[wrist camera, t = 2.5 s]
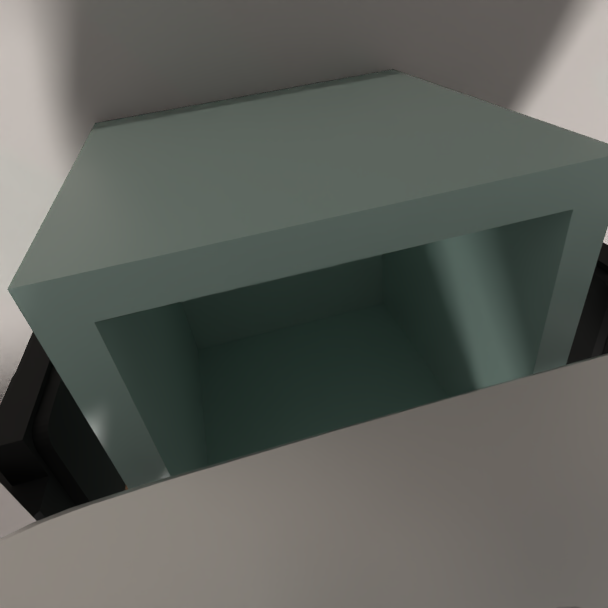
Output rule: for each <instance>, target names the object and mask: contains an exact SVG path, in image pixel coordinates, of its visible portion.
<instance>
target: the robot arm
mask: <svg viewBox="0 0 608 608" xmlns="http://www.w3.org/2000/svg"><path fill="white" fill-rule="evenodd" d="M125 486H126V484H125V482H124V481H123V479H122V478H121V476H120V474H119V473H118V471H117V469H116V468H115V466H114V464H113V463H112V461H111V459H110V458H109V456H108V454H107V453H106V451H105V449H104V448H103V446H102V444H101V443H100V441H99V440H98V438H97V436H96V435H95V433H94V431H93V430H92V428H91V426H90V425H89V423H88V421H87V420H86V418H85V416H84V415H83V413H82V411H81V410H80V408H79V406H78V405H77V403H76V402H75V400H74V398H73V397H72V395H71V393H70V392H69V390H68V388H67V387H66V385H65V383H64V382H63V380H62V378H61V377H60V375H59V373H58V372H57V370H56V368H55V367H54V365H53V364H52V362H51V360H50V359H49V357H48V355H47V354H46V352H45V350H44V349H43V347H42V345H41V344H40V342H39V340H38V339H37V337H36V335H35V334H34V332H33V333H32V335H31V338H30V340H29V342H28V345H27V347H26V349H25V352H24V354H23V357H22V359H21V361H20V364H19V366H18V368H17V371H16V373H15V374H14V376H13V377H12V379H11V382H10V384H9V386H8V389H7V391H6V393H5V396H4V398H3V400H2V403H1V405H0V608H608V245H607V244H605V243H602V247H601V250H600V253H599V257H598V260H597V263H596V267H595V270H594V273H593V277H592V280H591V283H590V287H589V290H588V293H587V297H586V300H585V303H584V306H583V310H582V313H581V316H580V320H579V323H578V326H577V330H576V333H575V336H574V340H573V343H572V346H571V350H570V353H569V356H568V360H567V363H566V365H563V366H560V367H556V368H552V369H549V370H545V371H542V372H538V373H534V374H531V375H527V376H523V377H520V378H516V379H513V380H509V381H505V382H502V383H498V384H494V385H491V386H487V387H483V388H480V389H476V390H473V391H469V392H466V393H462V394H458V395H455V396H451V397H448V398H444V399H441V400H437V401H434V402H430V403H426V404H423V405H419V406H416V407H412V408H409V409H405V410H402V411H398V412H394V413H391V414H387V415H384V416H380V417H377V418H373V419H370V420H366V421H363V422H359V423H355V424H352V425H348V426H345V427H341V428H338V429H334V430H331V431H327V432H324V433H320V434H317V435H313V436H310V437H306V438H303V439H300V440H296V441H293V442H289V443H286V444H282V445H279V446H275V447H272V448H268V449H265V450H261V451H258V452H254V453H251V454H247V455H244V456H240V457H237V458H233V459H230V460H226V461H223V462H220V463H216V464H213V465H209V466H206V467H202V468H199V469H195V470H192V471H188V472H185V473H181V474H178V475H174V476H171V477H167V478H164V479H160V480H157V481H153V482H150V483H147V484H143V485H140V486H137V487H134V488H131V489H128V490H125Z"/></svg>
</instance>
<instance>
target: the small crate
mask: <svg viewBox="0 0 608 608" xmlns="http://www.w3.org/2000/svg"><path fill="white" fill-rule="evenodd" d="M607 227H608V144H607V143H605V142H602V141H599V140H596V139H593V138H590V137H587V136H584V135H581V134H578V133H576V132H573V131H570V130H567V129H564V128H561V127H558V126H555V125H552V124H550V123H547V122H544V121H541V120H538V119H535V118H532V117H529V116H526V115H523V114H521V113H518V112H515V111H512V110H509V109H506V108H503V107H500V106H497V105H495V104H492V103H489V102H486V101H483V100H480V99H477V98H474V97H471V96H469V95H466V94H463V93H460V92H457V91H454V90H451V89H448V88H445V87H442V86H440V85H437V84H434V83H431V82H428V81H425V80H422V79H419V78H416V77H414V76H411V75H408V74H405V73H402V72H399V71H396V70H387V71H382V72H376V73H371V74H365V75H360V76H354V77H348V78H343V79H337V80H332V81H326V82H321V83H315V84H310V85H304V86H299V87H293V88H288V89H282V90H276V91H271V92H265V93H260V94H254V95H249V96H243V97H238V98H232V99H227V100H221V101H216V102H210V103H204V104H199V105H193V106H188V107H182V108H177V109H171V110H166V111H160V112H155V113H149V114H144V115H138V116H132V117H127V118H121V119H116V120H110V121H105V122H99V123H95V125H94V126H93V128H92V130H91V132H90V134H89V136H88V138H87V140H86V142H85V144H84V145H83V147H82V149H81V151H80V153H79V155H78V157H77V159H76V161H75V162H74V164H73V166H72V168H71V170H70V172H69V174H68V176H67V178H66V179H65V181H64V183H63V185H62V187H61V189H60V191H59V193H58V195H57V197H56V198H55V200H54V202H53V204H52V206H51V208H50V210H49V212H48V214H47V215H46V217H45V219H44V221H43V223H42V225H41V227H40V229H39V231H38V233H37V234H36V236H35V238H34V240H33V242H32V244H31V246H30V248H29V250H28V251H27V253H26V255H25V257H24V259H23V261H22V263H21V265H20V267H19V269H18V270H17V272H16V274H15V276H14V278H13V280H12V282H11V284H10V286H9V287H8V291H9V292H10V294H11V296H12V297H13V299H14V301H15V302H16V304H17V306H18V307H19V309H20V311H21V312H22V314H23V316H24V317H25V319H26V321H27V322H28V324H29V326H30V327H31V329H32V330H33V332H34V334H35V335H36V337H37V339H38V340H39V342H40V344H41V345H42V347H43V349H44V350H45V352H46V354H47V355H48V357H49V359H50V360H51V362H52V364H53V365H54V367H55V368H56V370H57V372H58V373H59V375H60V377H61V378H62V380H63V382H64V383H65V385H66V387H67V388H68V390H69V392H70V393H71V395H72V397H73V398H74V400H75V402H76V403H77V405H78V406H79V408H80V410H81V411H82V413H83V415H84V416H85V418H86V420H87V421H88V423H89V425H90V426H91V428H92V430H93V431H94V433H95V435H96V436H97V438H98V440H99V441H100V443H101V444H102V446H103V448H104V449H105V451H106V453H107V454H108V456H109V458H110V459H111V461H112V463H113V464H114V466H115V468H116V469H117V471H118V473H119V474H120V476H121V478H122V479H123V481H124V482H125V484H126V486H127V487H128V489H131V488H134V487H137V486H140V485H143V484H147V483H150V482H153V481H157V480H160V479H164V478H167V477H171V476H174V475H178V474H181V473H185V472H188V471H192V470H195V469H199V468H202V467H206V466H209V465H213V464H216V463H220V462H223V461H226V460H230V459H233V458H237V457H240V456H244V455H247V454H251V453H254V452H258V451H261V450H265V449H268V448H272V447H275V446H279V445H282V444H286V443H289V442H293V441H296V440H300V439H303V438H306V437H310V436H313V435H317V434H320V433H324V432H327V431H331V430H334V429H338V428H341V427H345V426H348V425H352V424H355V423H359V422H363V421H366V420H370V419H373V418H377V417H380V416H384V415H387V414H391V413H394V412H398V411H402V410H405V409H409V408H412V407H416V406H419V405H423V404H426V403H430V402H434V401H437V400H441V399H444V398H448V397H451V396H455V395H458V394H462V393H466V392H469V391H473V390H476V389H480V388H483V387H487V386H491V385H494V384H498V383H502V382H505V381H509V380H513V379H516V378H520V377H523V376H527V375H531V374H534V373H538V372H542V371H545V370H549V369H552V368H556V367H560V366H563V365H566V363H567V360H568V356H569V353H570V350H571V346H572V343H573V340H574V336H575V333H576V330H577V326H578V323H579V320H580V316H581V313H582V310H583V306H584V303H585V300H586V297H587V293H588V290H589V287H590V283H591V280H592V277H593V273H594V270H595V267H596V263H597V260H598V257H599V253H600V250H601V247H602V243H603V240H604V237H605V233H606V230H607Z"/></svg>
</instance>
